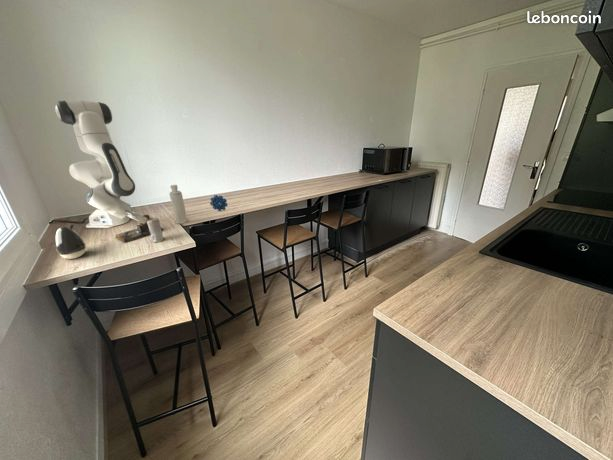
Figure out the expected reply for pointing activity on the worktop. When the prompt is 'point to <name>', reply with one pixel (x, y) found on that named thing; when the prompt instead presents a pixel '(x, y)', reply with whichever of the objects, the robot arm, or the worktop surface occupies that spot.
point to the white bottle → (178, 205)
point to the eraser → (143, 225)
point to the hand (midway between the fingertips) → (146, 221)
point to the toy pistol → (132, 235)
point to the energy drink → (155, 229)
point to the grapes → (218, 203)
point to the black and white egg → (69, 243)
